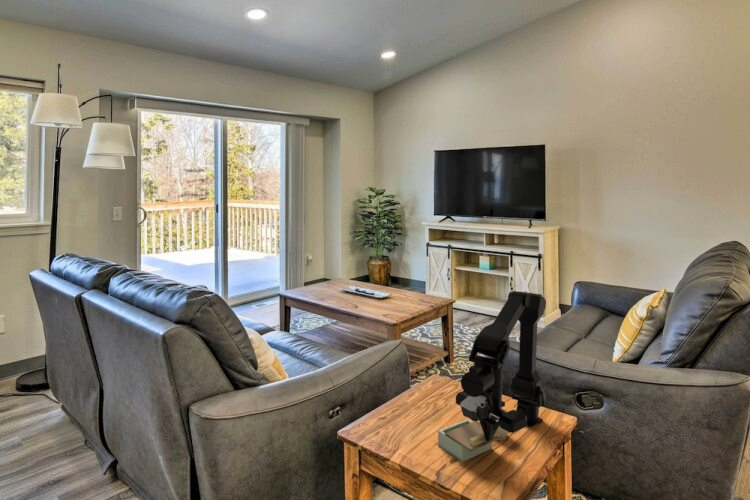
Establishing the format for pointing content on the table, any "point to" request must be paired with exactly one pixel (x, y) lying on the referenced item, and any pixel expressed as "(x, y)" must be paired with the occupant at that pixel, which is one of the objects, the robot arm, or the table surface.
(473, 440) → the lid
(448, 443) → the box body
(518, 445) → the table surface
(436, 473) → the table surface
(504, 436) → the dome-topped beige cylinder
